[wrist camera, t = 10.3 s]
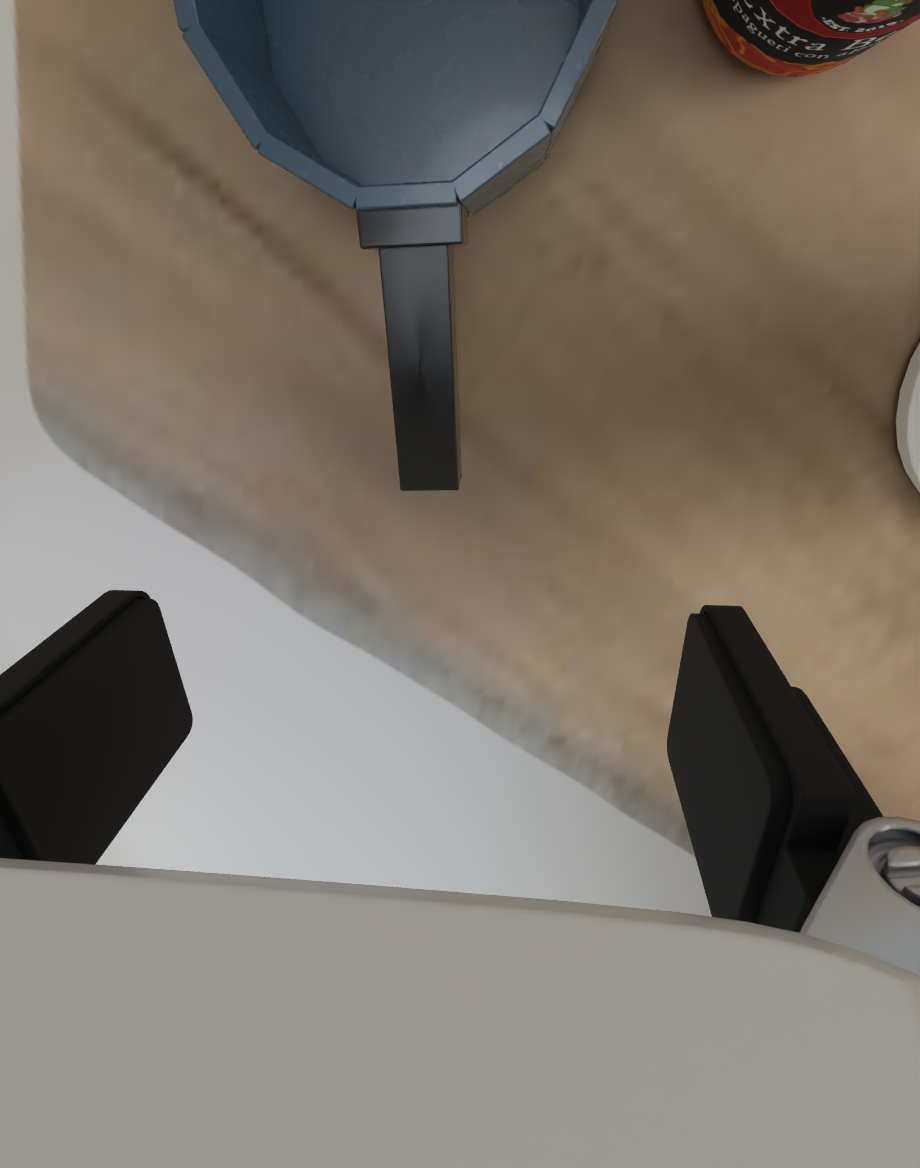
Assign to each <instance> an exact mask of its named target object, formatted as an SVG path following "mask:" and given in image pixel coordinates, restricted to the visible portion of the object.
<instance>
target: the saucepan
mask: <svg viewBox="0 0 920 1168" xmlns="http://www.w3.org/2000/svg"><path fill="white" fill-rule="evenodd" d="M173 1H174V6H175V11H176V16H177V21H178V26H179V29H180V30H181V31H182V32H184V34H183V35H182V36H183V39H184V40H185V42H186V44H187V45H188V47H189V48H190V50H191V51H192V53H193V54H194V56H195V58H196V59H197V61H198V62H199V64H200V65H201V67H202V69H203V70H204V72H205V73H206V75H207V76H208V78H209V79H210V81H211V83H212V84H213V86H214V87H215V89H216V90H217V92H218V94H219V95H220V97H221V98H222V100H223V101H224V103H225V104H226V106H227V108H228V109H229V111H230V112H231V114H232V115H233V117H234V119H235V120H236V122H237V123H238V125H239V126H240V128H241V129H242V131H243V133H244V134H245V136H246V137H247V139H248V140H249V142H250V144H251V145H252V147H253V148H254V149H257V150H258V153H259V154H260V155H262V156H264V157H265V158H267V159H269V160H270V161H272V162H274V163H275V164H277V165H279V166H280V167H282V168H284V169H285V170H287V171H289V172H291V173H292V174H294V175H296V176H297V177H299V178H301V179H302V180H304V181H306V182H307V183H309V184H311V185H312V186H314V187H316V188H317V189H319V190H321V191H323V192H324V193H326V194H328V195H329V196H331V197H333V198H334V199H336V200H338V201H339V202H341V203H343V204H344V205H346V206H348V207H350V208H352V209H355V210H357V220H358V230H359V239H360V247H361V248H362V249H368V250H379V257H380V268H381V279H382V290H383V301H384V312H385V323H386V335H387V346H388V357H389V368H390V379H391V390H392V401H393V412H394V423H395V434H396V445H397V456H398V467H399V478H400V489H401V490H402V491H417V490H458V489H459V485H460V481H461V477H462V473H461V448H460V424H459V399H458V374H457V349H456V325H455V300H454V275H453V251H452V247H455V246H466V245H467V244H468V229H467V217H468V216H469V212H470V213H471V214H472V215H474V214H475V213H477V212H478V211H480V210H481V209H482V208H484V207H485V206H486V205H488V204H489V203H490V202H492V201H493V200H495V199H496V198H498V197H499V196H501V195H503V194H504V193H506V192H507V191H508V190H510V189H511V188H512V187H513V186H514V185H515V184H517V183H518V182H519V181H520V180H521V179H523V178H524V177H525V176H527V175H528V174H529V173H531V172H532V171H533V170H535V169H536V168H537V167H539V166H540V165H542V163H543V161H544V159H546V158H547V157H548V155H549V153H550V151H551V149H552V147H553V145H554V143H555V140H556V138H557V136H558V134H559V132H560V130H561V128H562V126H563V124H564V122H565V120H566V118H567V117H568V114H569V112H570V110H571V108H572V106H573V104H574V102H575V99H576V97H577V95H578V93H579V91H580V89H581V87H582V85H583V83H584V81H585V79H586V77H587V75H588V73H589V71H590V69H591V67H592V64H593V62H594V59H595V57H596V54H597V52H598V49H599V47H600V44H601V42H602V39H603V37H604V34H605V32H606V29H607V27H608V24H609V22H610V19H611V17H612V14H613V11H614V9H615V6H616V4H617V0H173Z"/></svg>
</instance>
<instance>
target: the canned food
mask: <svg viewBox="0 0 920 1168" xmlns="http://www.w3.org/2000/svg"><path fill="white" fill-rule="evenodd" d="M702 1H703V5H704V9H705V13H706V15H707V17H708V19H709V22H710V24H711V26H712V28H713V30H714V32H715V34H716V36H717V37H718V38H719V40H720V41H721V42H722V43H723V45H724V46H725V47H726V48H727V50H728V51H729V52H730V53H731V54H732V55H734V56H735V57H736V58H738V59H739V60H741V61H742V62H743V63H745V64H746V65H748V66H750V67H752V68H755V69H758V70H760V71H763V72H766V73H769V74H771V75H781V76H793V77H796V76H802V75H808V74H814V73H820V72H823V71H825V70H828V69H830V68H833V67H835V66H838V65H840V64H843V63H845V62H847V61H849V60H850V59H852V58H854V57H855V56H857V55H859V54H861V53H862V52H864V51H866V50H867V49H869V48H871V47H872V46H874V45H876V44H877V43H879V42H881V41H883V40H884V39H886V38H888V37H889V36H891V35H893V34H894V33H896V32H898V31H899V30H901V29H903V28H905V27H906V26H908V25H910V24H911V23H913V22H915V21H916V20H918V19H920V0H702Z"/></svg>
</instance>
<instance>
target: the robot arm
mask: <svg viewBox="0 0 920 1168" xmlns="http://www.w3.org/2000/svg"><path fill="white" fill-rule="evenodd" d="M896 431H897V446H898V450H899V453H900V456H901V459H902V463H903V466H904V469H905V471H906V473H907V475H908V476H909V478H910V479H911V481H912V482H913V484H914V485H915V487H916V489H917V490H918V491H919V492H920V343H919V345H918V347H917V348H916V350H915V352H914V354H913V356H912V358H911V360H910V363H909V366H908V369H907V372H906V375H905V378H904V380H903V383H902V386H901V389H900V394H899V401H898V408H897V415H896ZM191 727H192V713H191V709H190V706H189V703H188V699H187V696H186V693H185V690H184V687H183V683H182V680H181V676H180V673H179V670H178V666H177V663H176V660H175V657H174V654H173V650H172V647H171V644H170V640H169V637H168V634H167V630H166V628H165V624H164V621H163V617H162V614H161V611H160V607H159V606H158V603H157V602H156V601H155V600H153V599H150V597H149V595H148V594H147V593H145V592H143V591H123V590H110V591H108V592H106V593H104V594H103V595H102V596H100V597H99V598H98V599H97V600H95V601H94V602H93V603H92V604H90V605H89V606H88V607H86V608H85V609H84V610H82V611H81V612H80V613H79V614H77V615H76V616H75V617H74V618H72V619H71V620H70V621H68V622H67V623H66V624H65V625H63V626H62V627H61V628H59V629H58V630H57V631H56V632H54V633H53V634H52V635H51V636H49V637H48V638H47V639H46V640H44V641H43V642H42V643H40V644H39V645H38V646H37V647H35V648H34V649H33V650H32V651H30V652H29V653H28V654H26V655H25V656H24V657H22V658H21V659H20V660H19V661H17V662H16V663H15V664H14V665H12V666H11V667H10V668H9V669H7V670H6V671H5V672H3V673H2V674H1V675H0V1168H920V821H916V820H911V819H906V818H902V817H883V815H882V814H881V812H880V810H879V809H878V807H877V806H876V804H875V802H874V801H873V799H872V798H871V796H870V795H869V793H868V791H867V790H866V788H865V787H864V785H863V784H862V782H861V780H860V779H859V777H858V776H857V774H856V773H855V771H854V769H853V768H852V766H851V765H850V763H849V762H848V760H847V758H846V757H845V755H844V754H843V752H842V750H841V749H840V747H839V746H838V744H837V743H836V741H835V739H834V738H833V736H832V735H831V733H830V732H829V730H828V728H827V727H826V725H825V724H824V722H823V721H822V719H821V717H820V716H819V714H818V713H817V711H816V710H815V708H814V706H813V705H812V703H811V702H810V700H809V698H808V697H807V695H806V694H805V693H804V692H803V691H802V690H801V689H799V688H797V687H791V686H790V684H789V682H788V681H787V679H786V678H785V676H784V674H783V673H782V671H781V669H780V668H779V666H778V664H777V663H776V661H775V660H774V658H773V656H772V655H771V653H770V651H769V650H768V648H767V646H766V645H765V643H764V642H763V640H762V638H761V637H760V635H759V633H758V632H757V630H756V628H755V627H754V625H753V624H752V622H751V620H750V619H749V617H748V615H747V614H746V612H745V610H744V609H743V608H742V607H741V606H716V605H704V606H703V607H702V609H701V611H700V614H690V616H689V618H688V622H687V628H686V634H685V639H684V645H683V651H682V657H681V662H680V668H679V674H678V680H677V685H676V691H675V697H674V702H673V708H672V714H671V720H670V725H669V731H668V738H667V753H668V759H669V763H670V766H671V770H672V774H673V777H674V781H675V784H676V788H677V792H678V795H679V799H680V802H681V806H682V810H683V813H684V817H685V821H686V824H687V828H688V831H689V835H690V839H691V842H692V846H693V849H694V853H695V857H696V860H697V864H698V867H699V871H700V875H701V878H702V882H703V885H704V889H705V893H706V896H707V900H708V903H709V907H710V911H711V914H712V917H709V916H701V915H694V914H687V913H679V912H669V911H660V910H659V911H658V910H649V909H639V908H629V907H619V906H609V905H598V904H588V903H578V902H568V901H558V900H546V899H534V898H521V897H509V896H496V895H484V894H472V893H460V892H448V891H436V890H423V889H410V888H399V887H386V886H374V885H362V884H349V883H335V882H322V881H309V880H296V879H283V878H270V877H257V876H243V875H230V874H217V873H203V872H190V871H176V870H163V869H149V868H135V867H121V866H105V865H95V864H96V863H97V861H98V860H99V858H100V857H101V856H102V854H103V853H104V852H105V850H106V849H107V847H108V846H109V845H110V843H111V842H112V840H113V839H114V838H115V836H116V835H117V833H118V832H119V831H120V829H121V828H122V827H123V825H124V824H125V822H126V821H127V820H128V818H129V817H130V815H131V814H132V813H133V811H134V810H135V808H136V807H137V806H138V804H139V803H140V801H141V800H142V799H143V797H144V796H145V794H146V793H147V792H148V790H149V789H150V788H151V786H152V785H153V783H154V782H155V781H156V779H157V778H158V776H159V775H160V774H161V772H162V771H163V769H164V768H165V767H166V765H167V764H168V763H169V761H170V760H171V758H172V757H173V755H174V754H175V753H176V751H177V750H178V749H179V747H180V746H181V744H182V743H183V742H184V740H185V739H186V737H187V736H188V734H189V733H190V730H191Z"/></svg>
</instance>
